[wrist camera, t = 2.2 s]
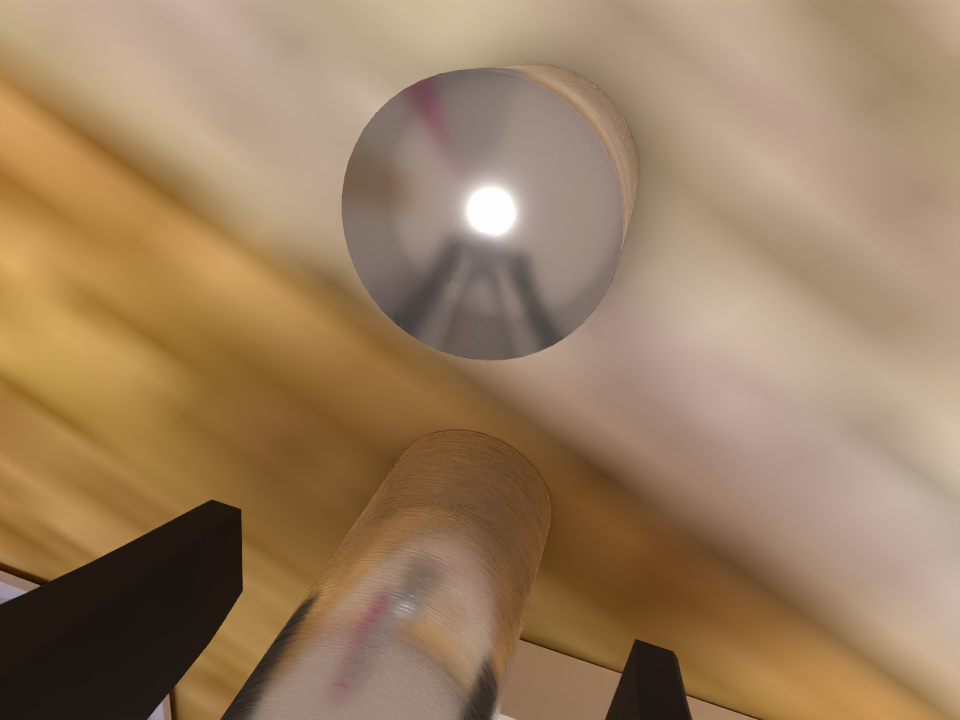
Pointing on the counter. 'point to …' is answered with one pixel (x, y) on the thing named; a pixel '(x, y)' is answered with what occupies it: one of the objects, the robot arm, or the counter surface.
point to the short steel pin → (491, 207)
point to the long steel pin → (415, 595)
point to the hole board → (572, 689)
